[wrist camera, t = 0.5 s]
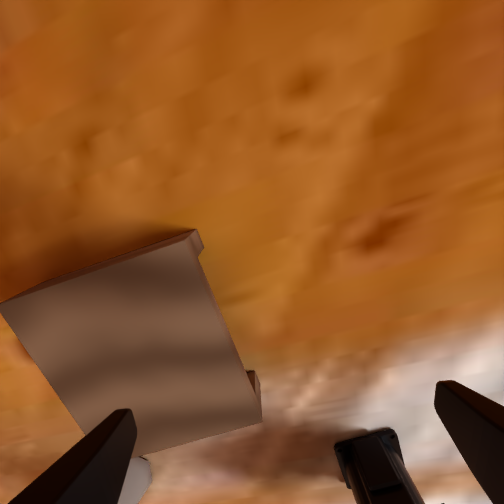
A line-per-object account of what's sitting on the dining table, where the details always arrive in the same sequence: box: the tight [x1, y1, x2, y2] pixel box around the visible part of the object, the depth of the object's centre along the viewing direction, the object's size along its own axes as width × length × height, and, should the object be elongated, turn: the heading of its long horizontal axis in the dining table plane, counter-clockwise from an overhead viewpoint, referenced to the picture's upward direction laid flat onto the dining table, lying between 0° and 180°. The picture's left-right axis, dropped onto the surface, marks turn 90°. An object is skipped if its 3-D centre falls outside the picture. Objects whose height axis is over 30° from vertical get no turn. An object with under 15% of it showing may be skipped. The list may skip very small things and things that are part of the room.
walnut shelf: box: [0, 229, 262, 458], centre depth 21 cm, size 16×14×4 cm
